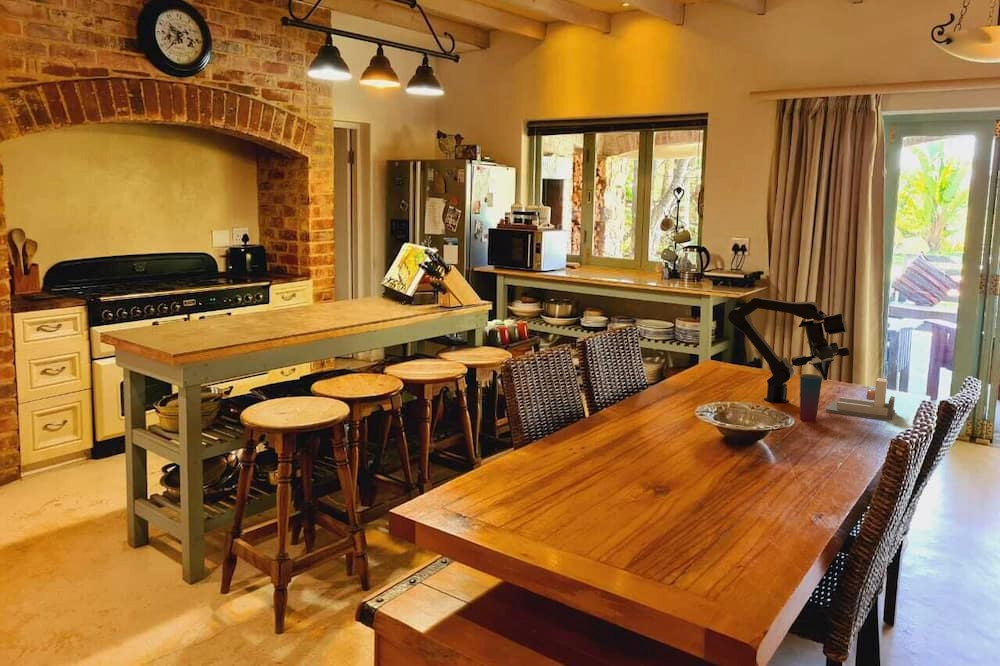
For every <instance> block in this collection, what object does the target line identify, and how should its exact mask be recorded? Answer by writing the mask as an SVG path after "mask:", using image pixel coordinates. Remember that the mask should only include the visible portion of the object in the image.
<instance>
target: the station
mask: <svg viewBox="0 0 1000 666" xmlns="http://www.w3.org/2000/svg"><path fill="white" fill-rule="evenodd" d="M895 398H896V397H895V396H892V395H891V396H890V398H889V400H888V402H885V407H877V406H874V400H867V399H859V398H852V397H851V398H850V397H843V396H840V397H839V401H831V402H829V405H828V406H827V407H826V409H825V412H826V413H832V414H840V415H846V416H853V417H861V418H868V419H869V418H870V419H876V420H882V421H883V420H884V421H889V422H892V421H893V419H894V416H895V413H896V410H895V409H894V408H895Z"/></svg>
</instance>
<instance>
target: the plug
mask: <svg viewBox="0 0 1000 666" xmlns="http://www.w3.org/2000/svg"><path fill="white" fill-rule="evenodd" d="M887 385H888V378H882V377H877V379H875V388H874V389H867V392H866V400H868V401H874V406H877V407H885V403H886V398H887V397H886V395H887V387H888V386H887Z"/></svg>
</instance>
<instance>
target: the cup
mask: <svg viewBox="0 0 1000 666" xmlns="http://www.w3.org/2000/svg"><path fill="white" fill-rule="evenodd" d="M799 380H800V381H799V420H800V421H802V422H804V423H805V422H806V423H814V422H816V421H817V415H818V409H819V403H820V395H821V390H822V389H821V388H822V381H823V378H822V377H821V375H820V374H819V375H818V374H811V373H804V374H803V373H802V374H800V377H799Z"/></svg>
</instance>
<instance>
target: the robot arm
mask: <svg viewBox="0 0 1000 666" xmlns="http://www.w3.org/2000/svg"><path fill="white" fill-rule="evenodd" d="M757 309H761V310H766V311H767V310H768V311H773V312H774V311H775V312H780V313H787V314H791V315H793V316H796V317H799V318H802V320H801V321H800V323H799V324H798V328H804V329H805V334H806V338H807V345H808V347H809V355H808V356H806V355H797V356H793V357H792V358H791V360H790V361H791V363H790V362H789V359H788V358H787V357H784V358H782V357H780V356H778V354H777V353H776V352H775V351H774V349H773V348H772V347H771V345H769V344H768V342H767V340H766V339H764V337H763V336H762V334H761V333H760V332H759V331H758V330H757V328H756V327H755V326H754V323H753V320H752V318H751V316H750V315H751V314H752V313H753V312H755V311H756V310H757ZM727 318H728V321H729V322H730V324H731V325H732V326H733V327H735V329H737V330H739V331H741V333H743V334H744V335H745V337H746V338H748V340H749V341H750V343H751V344H752V345H753V346H754V348H755V350H757V352H758V353H759V354H760V355H761V357H762V358H763V359H764V360H765V362H766V363H767V364H768V367H769V371H770V372H771V374H772V375H771V376H770V377H769V378H768V379H766V382H767V391H766V397H763V400H764V401H768V402H771V403H772V404H773V403H774V404H781V403H788V402H790V400H789V399H787V395H788V394H787V393H788V388H787V386H788V384H786V383H787V382H788V381H789V380H791V379H792V378H793V376H794V374H795V373H794V372H795V370H794V368H793V367H794V366H795V367H801V366H805V365H807V364H808V365H812V366H813V367H814V368H815V370H816V371H817V372H818V373H819V376H821V377H822V381H828V376H829V369H830V365H831V363H832V362H834V360H835V359H833V358H835V356H839V357H842V358H843V357H846V356H851V351H850V349H849V348H848V347H846V346H838V343H837V342H831V343H828V341H827V338H826V337H825V333H826V334H828V335H829V336H830V335H837V334H842V333H843V334H845V333H847V332H848V328H847V322H846V321H847V320H845V317H844V315H843V313H842V312H840V313H839V312H838V313H837V314H832V315H828V314H826V313H825V312H824V311H822V310H821V307H820V306H819V304H818V302H814V301H799V302H797V301H794V302H792V301H786V300H785V301H784V300H778V299H774V298H773V299H772V298H766V297H765V298H764V297H761V296H755V297H752V298H751V300H750V301H748V302H747V303H745V304H744V305H742V306H740V307H736V308H734V309H732V310H731V311H729V313H728V315H727Z"/></svg>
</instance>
